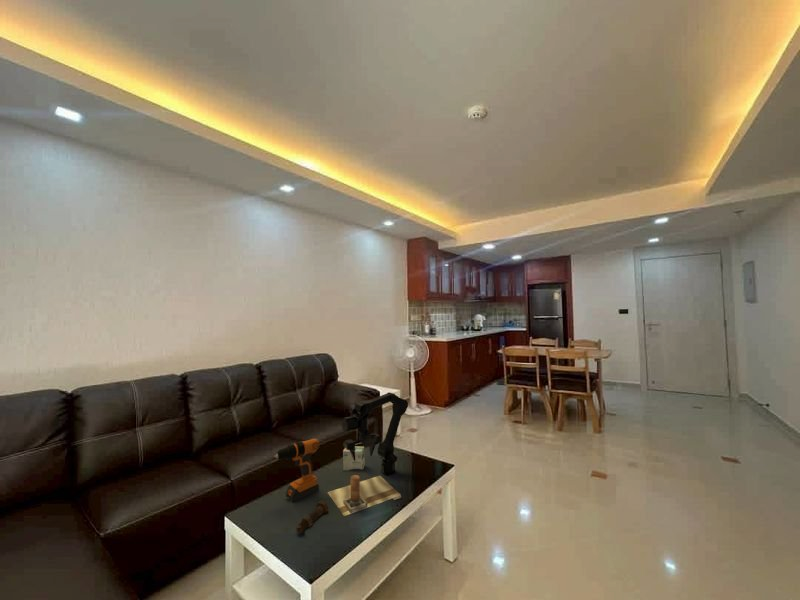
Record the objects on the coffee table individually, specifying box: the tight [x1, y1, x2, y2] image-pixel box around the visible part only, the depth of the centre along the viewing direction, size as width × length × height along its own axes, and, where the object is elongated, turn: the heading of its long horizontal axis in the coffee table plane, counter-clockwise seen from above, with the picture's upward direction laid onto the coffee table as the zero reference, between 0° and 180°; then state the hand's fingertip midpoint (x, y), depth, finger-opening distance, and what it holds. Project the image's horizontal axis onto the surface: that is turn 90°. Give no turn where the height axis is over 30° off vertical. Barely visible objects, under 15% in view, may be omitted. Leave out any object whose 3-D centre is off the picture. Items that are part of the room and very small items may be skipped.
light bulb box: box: [342, 446, 366, 471], centre depth 180 cm, size 11×7×11 cm, turn 84°
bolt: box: [296, 500, 329, 534], centre depth 134 cm, size 6×5×15 cm
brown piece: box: [349, 474, 361, 507], centre depth 144 cm, size 4×4×12 cm
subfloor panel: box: [327, 475, 402, 517], centre depth 153 cm, size 28×21×3 cm
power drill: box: [273, 438, 320, 502], centre depth 153 cm, size 22×7×25 cm, turn 134°
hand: (362, 458), depth 165 cm, fingers open, 9 cm apart
